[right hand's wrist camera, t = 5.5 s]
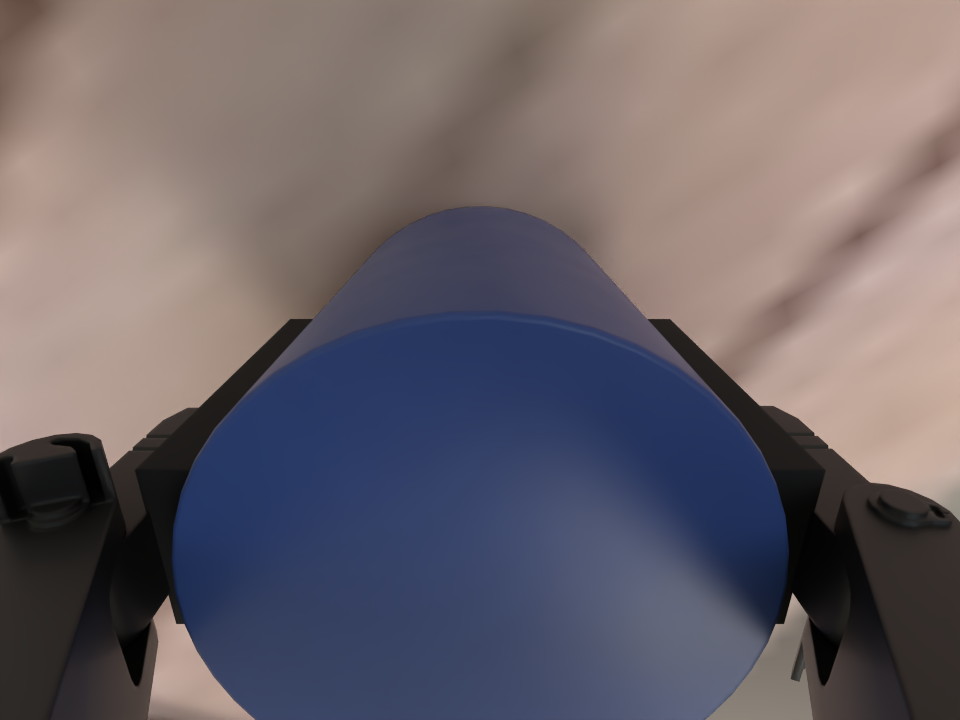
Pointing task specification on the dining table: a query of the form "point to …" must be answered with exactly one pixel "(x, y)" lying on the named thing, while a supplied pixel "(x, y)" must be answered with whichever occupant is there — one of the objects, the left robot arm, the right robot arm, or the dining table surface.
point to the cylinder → (480, 502)
